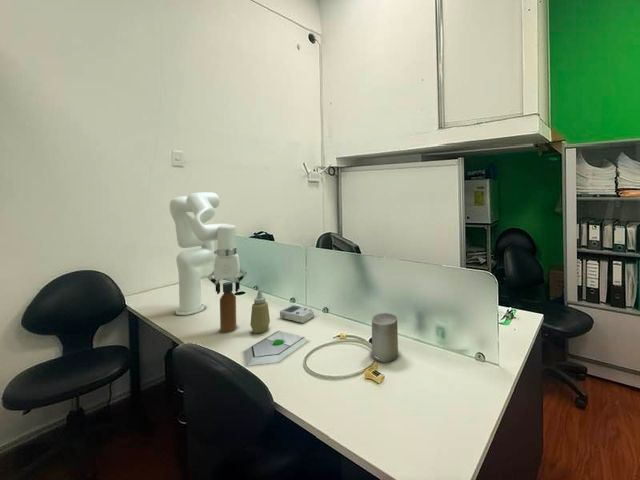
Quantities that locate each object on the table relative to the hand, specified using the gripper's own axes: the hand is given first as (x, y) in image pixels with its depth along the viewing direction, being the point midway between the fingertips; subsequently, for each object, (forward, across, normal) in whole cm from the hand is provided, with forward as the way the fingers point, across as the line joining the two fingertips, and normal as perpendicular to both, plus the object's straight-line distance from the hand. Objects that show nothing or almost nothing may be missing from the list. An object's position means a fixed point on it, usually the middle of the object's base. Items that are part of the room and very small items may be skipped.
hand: (227, 291), depth 133 cm
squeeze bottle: (+17, +14, -6) cm, 23 cm away
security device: (+17, +19, -26) cm, 36 cm away
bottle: (+17, 0, 0) cm, 17 cm away
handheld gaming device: (+17, +30, +2) cm, 34 cm away
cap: (0, 0, 0) cm, 0 cm away
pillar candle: (+17, +60, -44) cm, 76 cm away
